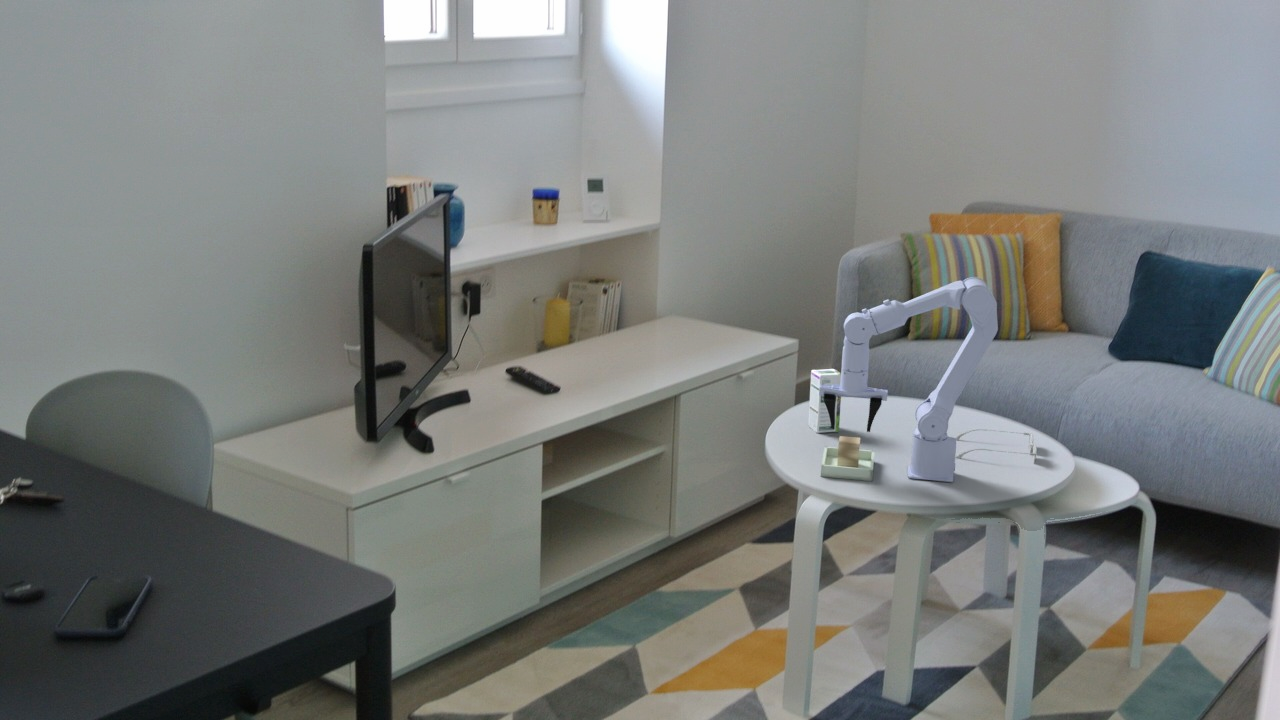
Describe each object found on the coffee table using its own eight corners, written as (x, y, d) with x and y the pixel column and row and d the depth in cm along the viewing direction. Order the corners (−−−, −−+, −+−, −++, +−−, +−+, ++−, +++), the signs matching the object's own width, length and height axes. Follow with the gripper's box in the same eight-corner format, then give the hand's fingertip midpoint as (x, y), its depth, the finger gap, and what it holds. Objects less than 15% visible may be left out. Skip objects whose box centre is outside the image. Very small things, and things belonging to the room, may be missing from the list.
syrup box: (817, 433, 301) (820, 375, 297) (807, 426, 307) (811, 368, 303) (839, 432, 303) (843, 373, 299) (829, 424, 308) (833, 367, 304)
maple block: (858, 463, 279) (860, 437, 278) (857, 470, 275) (859, 444, 274) (837, 461, 280) (839, 435, 279) (836, 468, 276) (838, 442, 274)
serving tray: (873, 461, 283) (874, 450, 282) (872, 481, 270) (873, 470, 270) (824, 457, 285) (824, 446, 284) (820, 476, 273) (821, 465, 272)
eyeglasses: (1035, 468, 283) (1037, 451, 282) (953, 461, 286) (954, 444, 285) (1029, 446, 297) (1031, 430, 296) (951, 440, 301) (952, 424, 300)
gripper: (889, 366, 274) (884, 426, 278) (822, 361, 277) (818, 420, 280) (888, 375, 268) (884, 436, 271) (820, 370, 270) (816, 430, 274)
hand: (850, 429), depth 275 cm, fingers open, 7 cm apart
